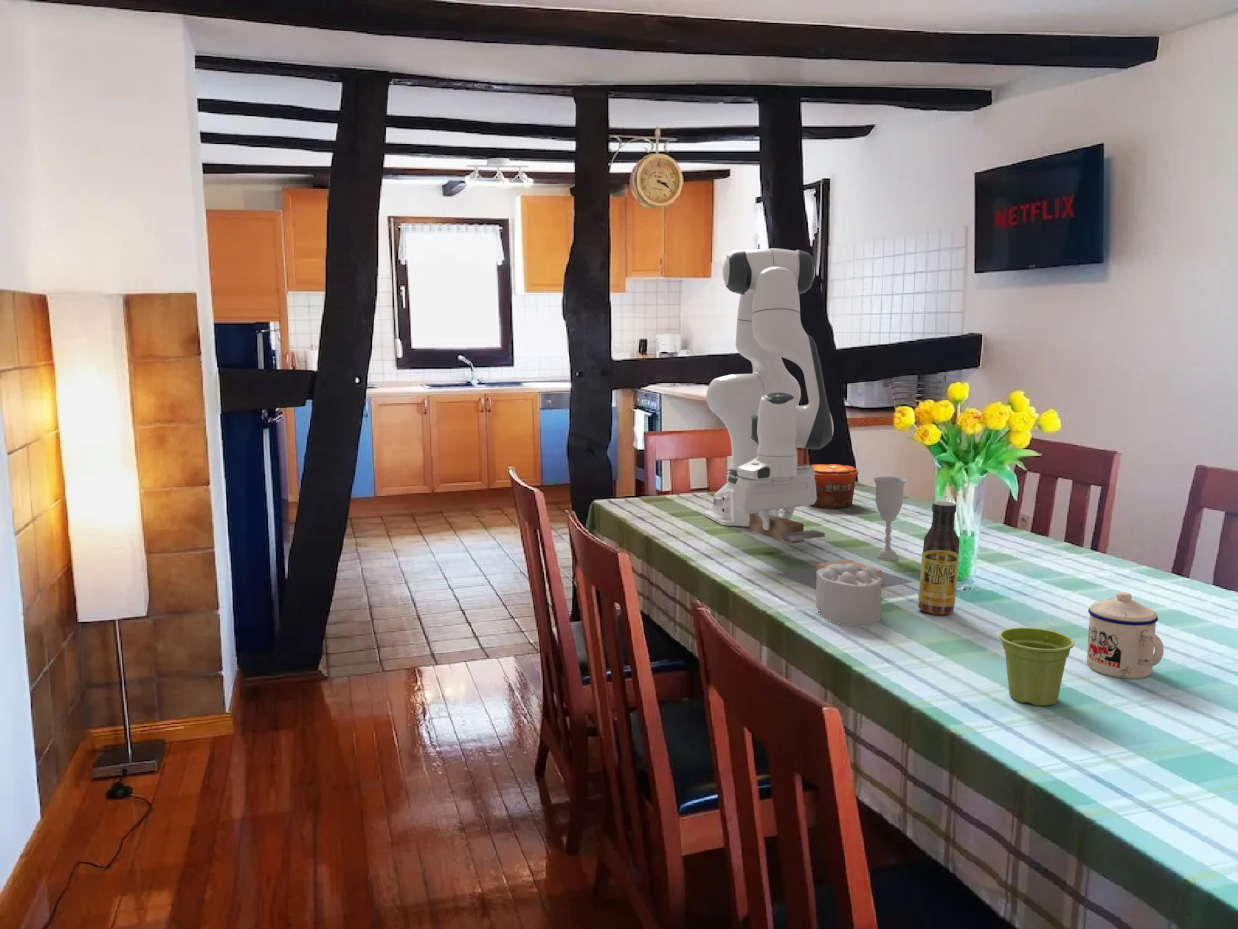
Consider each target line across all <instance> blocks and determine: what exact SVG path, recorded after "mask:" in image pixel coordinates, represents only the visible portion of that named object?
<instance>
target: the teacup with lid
mask: <svg viewBox="0 0 1238 929" xmlns="http://www.w3.org/2000/svg"><path fill="white" fill-rule="evenodd" d="M1132 598H1133V597H1132V594H1131V593H1129V592H1127V591H1119V592H1117V593H1116V596H1115V597H1111V598H1108V599H1106V600H1101V601H1096V602H1093V603H1092V604H1091V605H1090V606H1089V608H1088V611H1087V612H1088V614H1089V618H1088V619H1089V621H1088V636H1087V651H1086V653H1087V654H1086V664H1087V666H1088V667H1089V668H1090V669H1091V670H1093V671H1095V672H1097V673H1099V674H1103V675H1105V676H1108V677H1114V678H1121V679H1129V680H1130V679H1135V680H1136V679H1144V678H1147V677H1149V676H1150V675H1152V673H1153V666H1156V665H1158V664H1159V663H1160V662H1161V660H1162V659H1163V656H1164V652H1165V650H1164V647H1165V646H1164V643H1163V641H1162V639H1161V638H1160V637H1159V636H1158V635H1157V634H1156V626H1157V624H1156V623H1157V622H1158V621H1159V618H1158V614H1157V612H1156V611H1155V610H1153V609H1152V608H1150V607H1148V606H1145V605H1143V604H1141V603H1140V602H1138V601H1137V600H1134V599H1132Z"/></svg>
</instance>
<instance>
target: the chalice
mask: <svg viewBox="0 0 1238 929" xmlns="http://www.w3.org/2000/svg"><path fill="white" fill-rule="evenodd" d="M873 481H874V483H875V499H874V501H875V504H876V508H877V511H878V513H879V515H880V518H881V520H882V521H884V522H885V525H886V527H885V529H884V531H885V534H886V535H885V537H883V539H884V541H885V545H884V548H882V549H880V550H879V551H878V554H877V557H876V558H877V559H878V560H881V561H882V560H883V561H896V560H899V558H898V557H899V556H898V555H897V552H896V550H895V549H892V547H891V541H892V540H893V538H892V537H891V533H892V531H893V530H892V527H891V526H892V525H891V524H892V522H894V521H896V519H897V517H898V515H899V513H900V512H901V509H902V506H903V504H904V487H905V484H906V482H907V479H906V478H903V477H896V476H877V477H874V478H873Z"/></svg>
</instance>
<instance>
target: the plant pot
mask: <svg viewBox="0 0 1238 929" xmlns="http://www.w3.org/2000/svg"><path fill="white" fill-rule="evenodd" d="M998 638H999V640H1000V641H1001V642H1002V648H1003V650H1004V654H1005V664H1006V666H1005V667H1006V673H1007V674H1006V675H1007V682H1008V685H1007V686H1008V693H1009V694H1008V695H1009V696H1010V698H1012V699H1013V700H1015V701H1017V702H1019V703H1023V704H1024V703H1030V704H1032V705H1033V706H1041V707H1042V706H1043V707H1044V706H1051V705H1052V706H1053V705H1055V704H1056V703H1057V701H1058V700H1059V696H1060V690H1061V687H1062V680H1063V677H1064V671H1065V666H1066V661H1067V658H1068V657H1069V656H1070V653H1071V652H1070V651H1071V649H1072V648H1074V646H1075V642H1074V639H1073V638H1071V637H1070V636H1068V635H1066V634H1064V633H1061V632H1057V631H1055V630H1050V629H1045V628H1036V627H1009V628H1007V629H1006V628H1005V629H1003V630H1001V631H1000V632H999V633H998Z"/></svg>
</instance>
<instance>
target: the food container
mask: <svg viewBox="0 0 1238 929" xmlns="http://www.w3.org/2000/svg"><path fill="white" fill-rule="evenodd" d="M810 466H811V467H813V469H814V471H815V478H814V479H815V484H816V496H817V498H816V502H815V503H814V504H813V505H808V506H809V507H814V508H822V509H844V508H848V507H851V506H852V505H853V499H854V493H855V486H856V481H857V480H856V479H857V475H859V471H858V469H857V468H856V467H854V466H851V465H843V464H835V463H833V464H832V463H830V464H822V463H821V464H819V463H817V464H811V465H810ZM809 469H811V468H809Z"/></svg>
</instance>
